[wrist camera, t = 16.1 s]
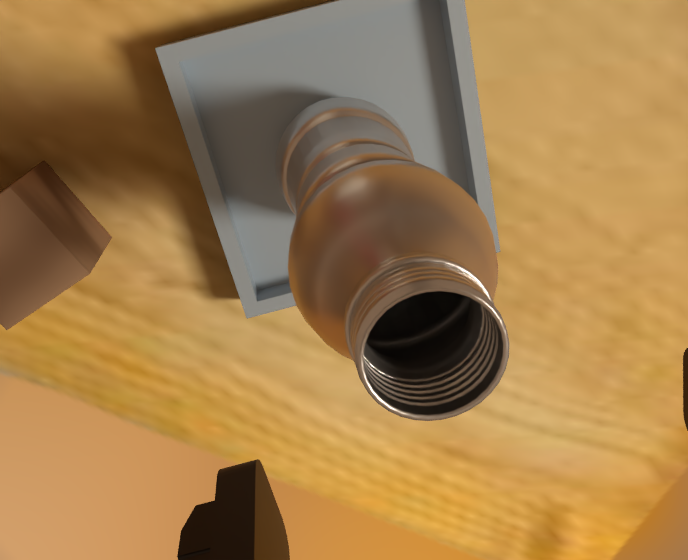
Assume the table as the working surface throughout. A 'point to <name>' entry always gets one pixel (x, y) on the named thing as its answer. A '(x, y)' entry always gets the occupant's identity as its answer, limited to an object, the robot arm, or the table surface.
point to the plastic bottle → (390, 261)
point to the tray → (308, 88)
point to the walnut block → (43, 242)
